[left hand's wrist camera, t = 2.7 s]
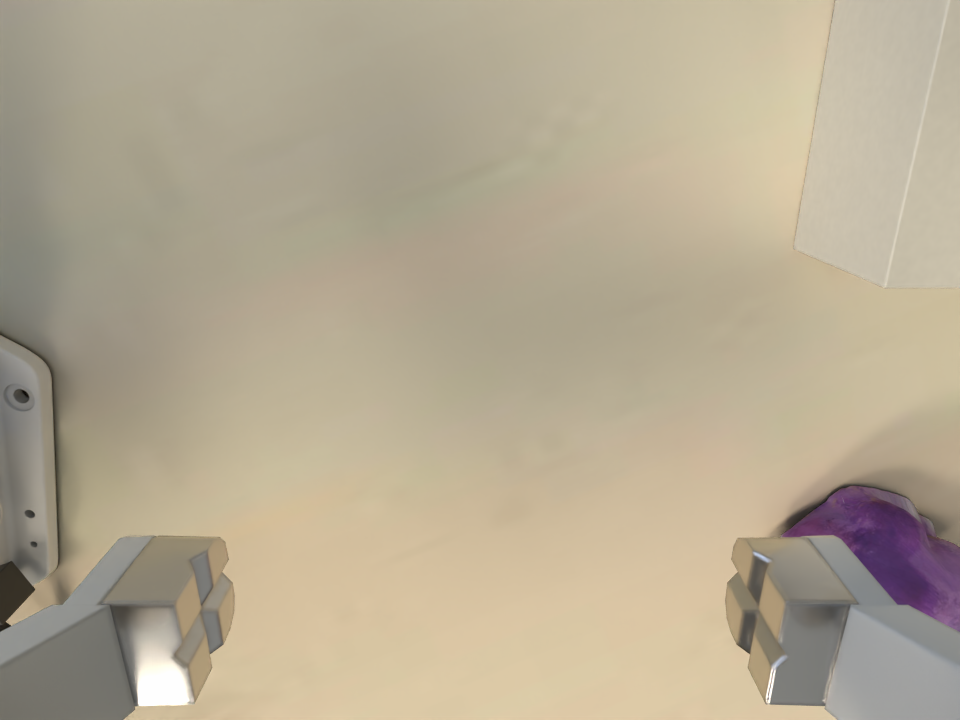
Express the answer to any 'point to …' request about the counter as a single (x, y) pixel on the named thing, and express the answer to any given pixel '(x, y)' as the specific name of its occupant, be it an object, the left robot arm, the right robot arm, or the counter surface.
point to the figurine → (892, 548)
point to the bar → (887, 146)
